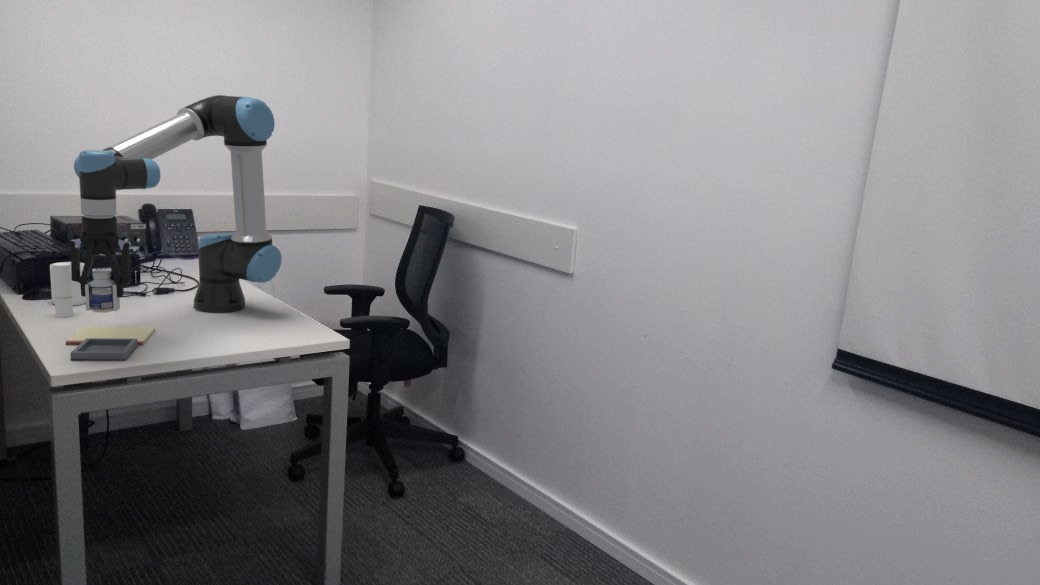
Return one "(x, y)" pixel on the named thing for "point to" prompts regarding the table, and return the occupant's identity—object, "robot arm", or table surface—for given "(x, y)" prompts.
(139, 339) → the notepad
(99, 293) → the pill bottle
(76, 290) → the mug
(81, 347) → the tray
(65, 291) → the tube
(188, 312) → the table surface
